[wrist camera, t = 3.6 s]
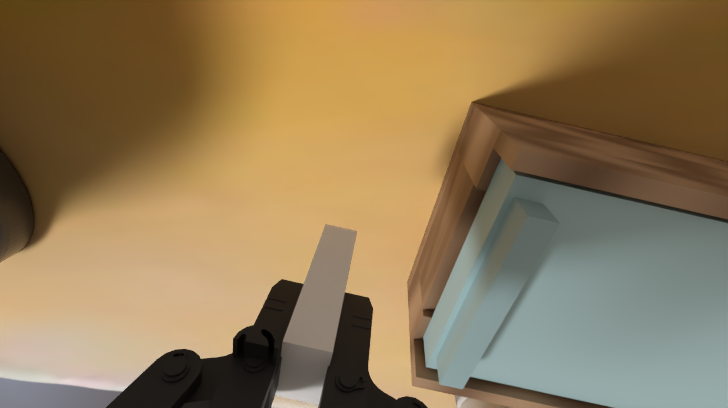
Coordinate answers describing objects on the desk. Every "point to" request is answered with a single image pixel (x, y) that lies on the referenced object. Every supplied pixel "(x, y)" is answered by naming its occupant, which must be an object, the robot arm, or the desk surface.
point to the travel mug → (475, 403)
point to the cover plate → (586, 298)
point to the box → (554, 161)
